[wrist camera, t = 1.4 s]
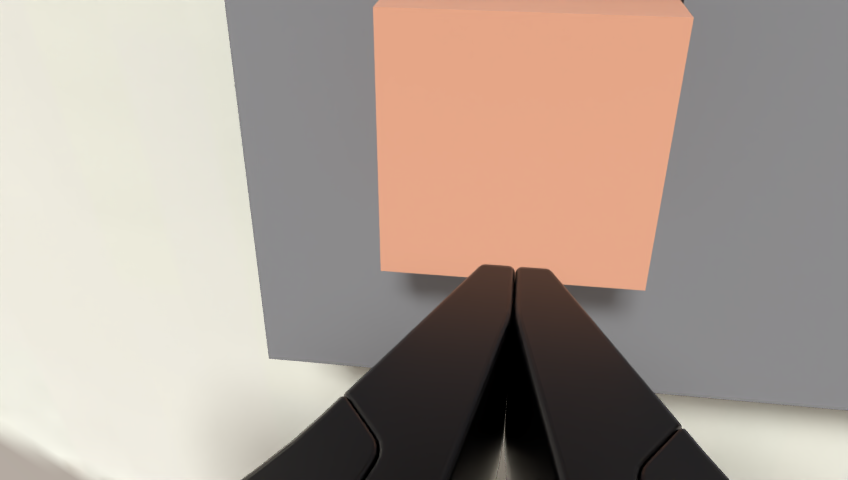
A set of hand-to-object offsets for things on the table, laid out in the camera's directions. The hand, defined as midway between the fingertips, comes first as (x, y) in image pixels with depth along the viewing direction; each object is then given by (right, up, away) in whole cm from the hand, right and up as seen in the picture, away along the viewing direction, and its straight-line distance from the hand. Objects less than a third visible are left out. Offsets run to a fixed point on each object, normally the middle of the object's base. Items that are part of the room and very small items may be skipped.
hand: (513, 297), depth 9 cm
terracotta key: (+1, +4, +7) cm, 8 cm away
